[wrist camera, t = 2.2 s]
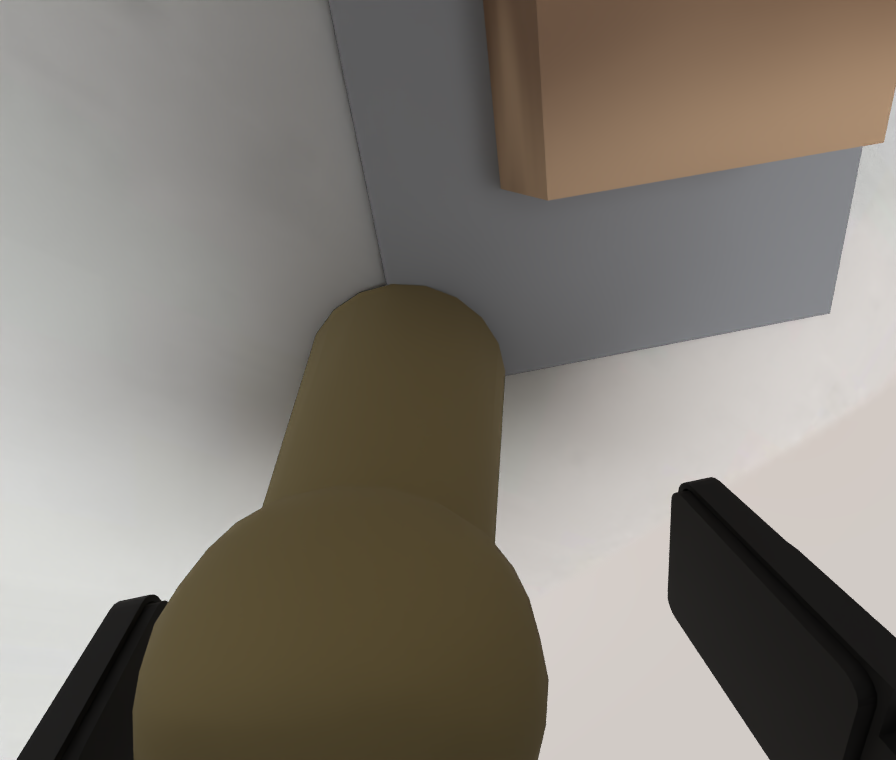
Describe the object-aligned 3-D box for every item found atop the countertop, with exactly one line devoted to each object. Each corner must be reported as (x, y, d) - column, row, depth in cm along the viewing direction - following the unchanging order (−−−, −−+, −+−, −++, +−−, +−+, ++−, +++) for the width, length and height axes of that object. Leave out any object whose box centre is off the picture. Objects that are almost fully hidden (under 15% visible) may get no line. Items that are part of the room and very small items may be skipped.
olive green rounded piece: (317, 263, 13) (-49, 588, 4) (529, 307, 14) (721, 698, 4) (300, 444, 16) (58, 927, 6) (479, 476, 17) (524, 967, 7)
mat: (207, -593, 8) (198, -630, 8) (999, -655, 9) (1026, -690, 8) (408, 389, 16) (409, 394, 15) (820, 309, 16) (829, 313, 16)
